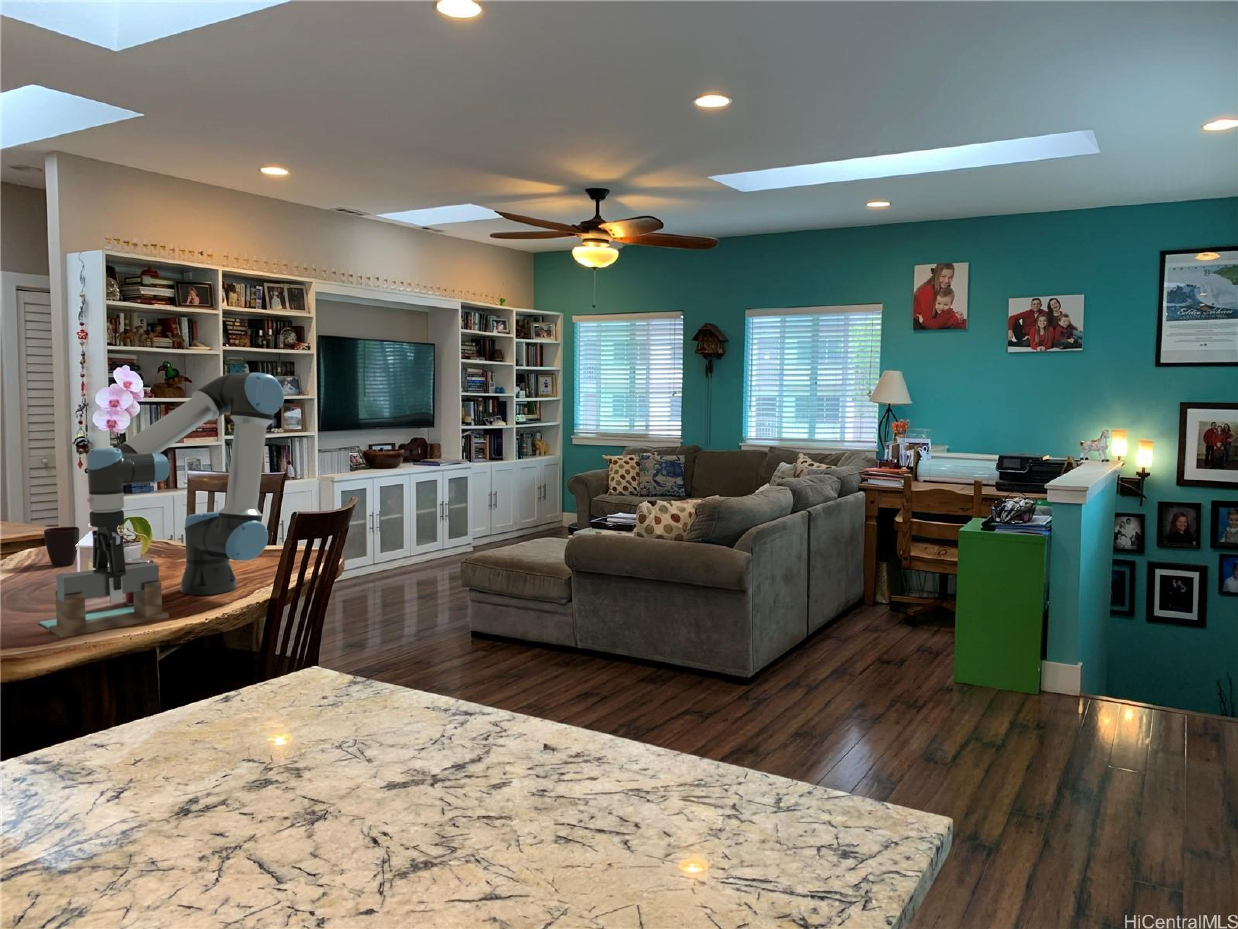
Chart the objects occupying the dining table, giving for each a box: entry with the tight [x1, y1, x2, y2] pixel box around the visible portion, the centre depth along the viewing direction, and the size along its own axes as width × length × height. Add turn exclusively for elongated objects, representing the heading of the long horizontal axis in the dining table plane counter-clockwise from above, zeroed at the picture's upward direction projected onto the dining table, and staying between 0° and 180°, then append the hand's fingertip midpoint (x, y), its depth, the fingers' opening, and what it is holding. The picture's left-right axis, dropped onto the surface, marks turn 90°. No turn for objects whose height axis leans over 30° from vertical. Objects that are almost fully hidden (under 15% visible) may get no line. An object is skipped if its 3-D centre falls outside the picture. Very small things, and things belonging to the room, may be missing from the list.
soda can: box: [124, 557, 155, 606], centre depth 250 cm, size 7×7×12 cm
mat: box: [38, 605, 134, 630], centre depth 234 cm, size 24×7×1 cm, turn 139°
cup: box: [43, 526, 80, 568], centre depth 300 cm, size 10×14×12 cm
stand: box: [49, 580, 170, 638], centre depth 227 cm, size 25×8×10 cm, turn 139°
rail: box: [56, 562, 160, 602], centre depth 227 cm, size 22×5×6 cm, turn 139°
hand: (110, 599), depth 227 cm, fingers open, 8 cm apart
